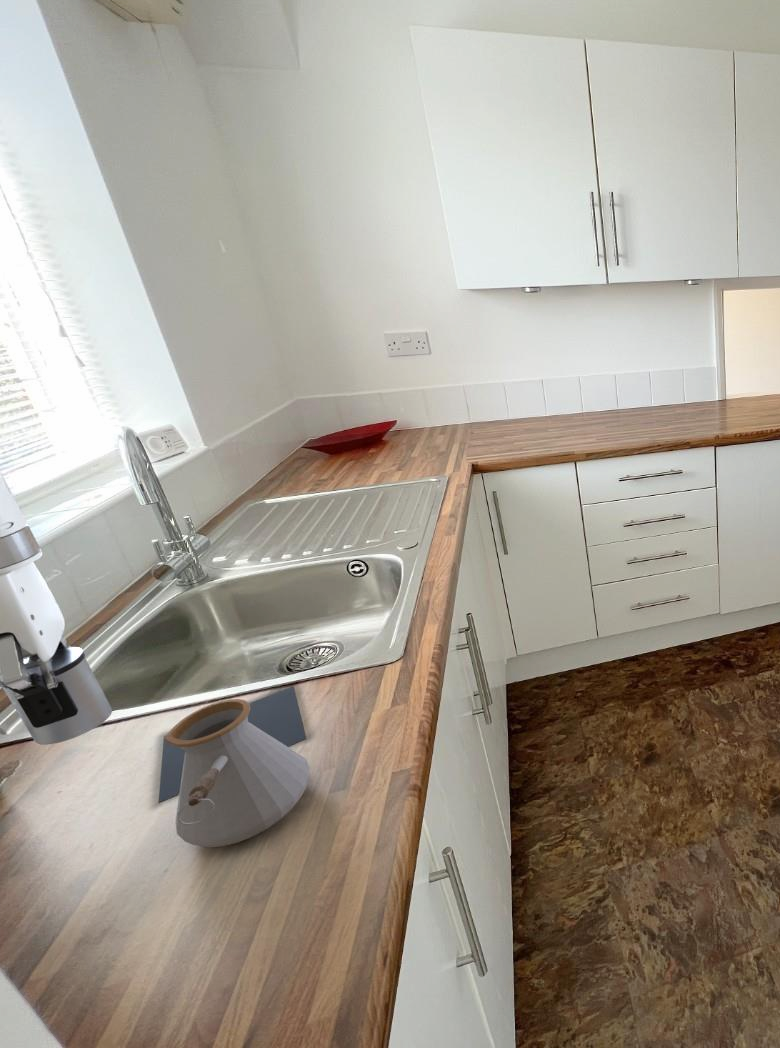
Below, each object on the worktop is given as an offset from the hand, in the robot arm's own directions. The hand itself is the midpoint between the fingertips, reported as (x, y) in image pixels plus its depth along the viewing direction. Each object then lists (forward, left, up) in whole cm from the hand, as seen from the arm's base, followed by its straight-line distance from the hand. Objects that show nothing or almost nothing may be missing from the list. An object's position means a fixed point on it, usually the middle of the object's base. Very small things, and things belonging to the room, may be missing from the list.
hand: (62, 702), depth 63 cm
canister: (0, 0, -3) cm, 3 cm away
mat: (+11, 0, -12) cm, 17 cm away
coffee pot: (+12, -21, -13) cm, 28 cm away
